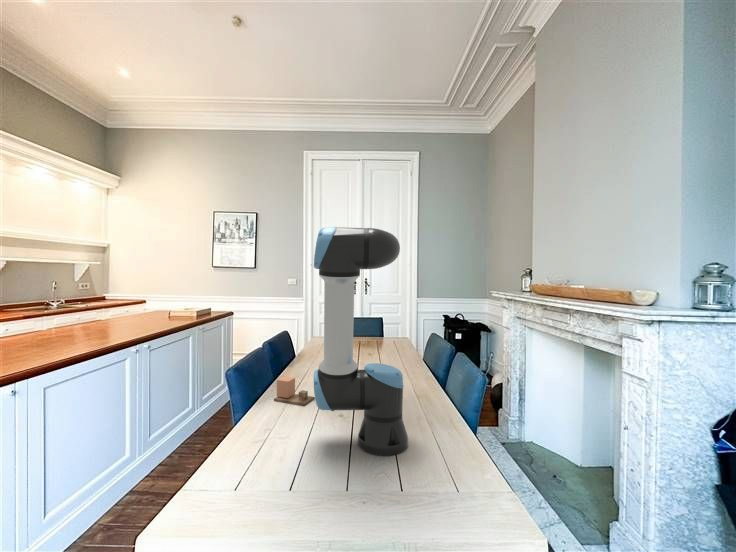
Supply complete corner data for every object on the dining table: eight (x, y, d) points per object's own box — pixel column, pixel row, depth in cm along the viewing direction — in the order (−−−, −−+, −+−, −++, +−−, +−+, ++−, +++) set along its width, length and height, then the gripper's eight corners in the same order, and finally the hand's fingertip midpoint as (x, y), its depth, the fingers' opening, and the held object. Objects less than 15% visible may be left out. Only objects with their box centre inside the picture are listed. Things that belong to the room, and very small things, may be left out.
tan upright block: (287, 398, 137) (287, 381, 137) (276, 396, 139) (276, 379, 139) (294, 393, 142) (295, 377, 142) (284, 392, 144) (284, 376, 144)
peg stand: (314, 399, 140) (314, 380, 140) (304, 406, 132) (304, 386, 132) (285, 394, 145) (285, 376, 145) (273, 401, 137) (274, 382, 137)
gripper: (344, 268, 138) (343, 327, 138) (355, 269, 151) (354, 323, 151) (327, 268, 141) (326, 326, 140) (339, 269, 153) (338, 322, 153)
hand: (340, 324), depth 146 cm, fingers closed
